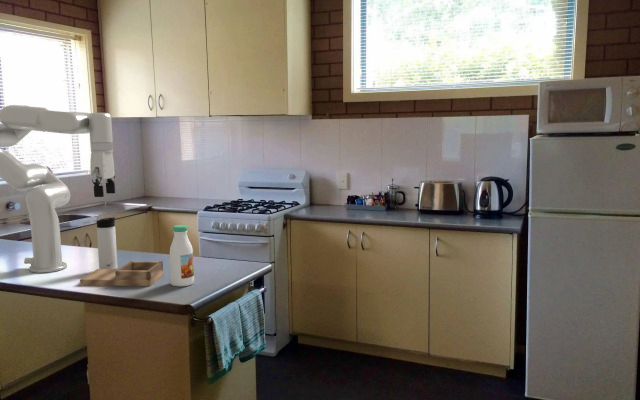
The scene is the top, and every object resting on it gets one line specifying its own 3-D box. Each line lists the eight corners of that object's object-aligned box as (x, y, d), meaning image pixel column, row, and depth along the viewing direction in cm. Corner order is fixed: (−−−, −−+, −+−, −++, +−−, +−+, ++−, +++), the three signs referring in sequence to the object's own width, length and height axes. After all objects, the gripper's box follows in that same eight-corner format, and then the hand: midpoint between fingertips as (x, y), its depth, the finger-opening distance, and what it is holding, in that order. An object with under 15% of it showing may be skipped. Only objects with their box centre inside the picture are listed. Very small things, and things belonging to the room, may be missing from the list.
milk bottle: (172, 288, 180) (170, 228, 177) (169, 282, 187) (166, 224, 184) (196, 285, 183) (194, 226, 180) (191, 279, 190) (189, 223, 187)
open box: (80, 285, 184) (79, 270, 183) (97, 274, 197) (96, 261, 196) (150, 286, 183) (149, 271, 182) (163, 275, 196) (162, 261, 195)
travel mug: (112, 273, 198) (109, 219, 195) (95, 272, 199) (92, 218, 196) (121, 269, 204) (118, 216, 201) (105, 268, 205) (102, 215, 202)
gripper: (102, 146, 204) (105, 192, 206) (80, 148, 187) (83, 198, 189) (122, 146, 203) (124, 192, 206) (101, 148, 186) (104, 198, 189)
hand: (105, 195), depth 197 cm, fingers open, 9 cm apart
